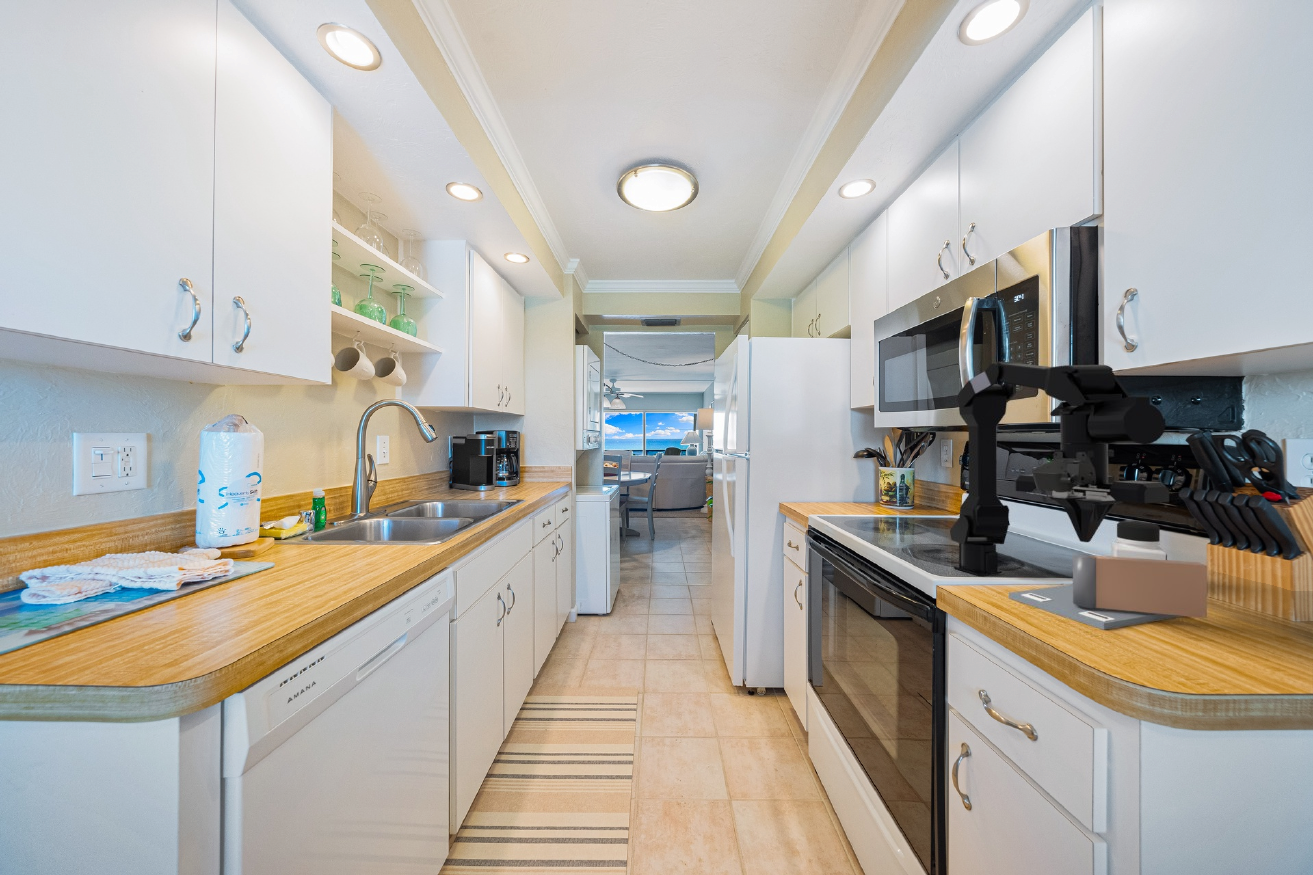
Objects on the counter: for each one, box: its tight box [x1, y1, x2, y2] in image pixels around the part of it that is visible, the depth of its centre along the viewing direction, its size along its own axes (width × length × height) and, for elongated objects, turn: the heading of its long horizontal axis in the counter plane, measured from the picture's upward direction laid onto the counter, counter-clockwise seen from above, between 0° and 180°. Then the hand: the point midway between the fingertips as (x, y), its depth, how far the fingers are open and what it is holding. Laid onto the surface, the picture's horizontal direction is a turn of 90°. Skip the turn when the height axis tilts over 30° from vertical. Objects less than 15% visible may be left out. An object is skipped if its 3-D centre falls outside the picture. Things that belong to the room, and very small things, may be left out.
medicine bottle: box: [1110, 520, 1168, 560], centre depth 98 cm, size 7×7×12 cm
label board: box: [1008, 583, 1182, 631], centre depth 85 cm, size 15×20×1 cm
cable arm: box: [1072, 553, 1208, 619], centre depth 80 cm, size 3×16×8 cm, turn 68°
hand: (1084, 541), depth 79 cm, fingers closed
